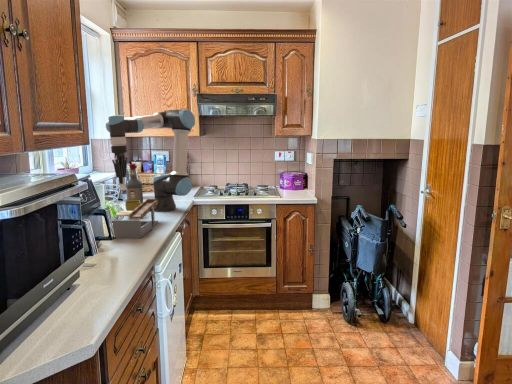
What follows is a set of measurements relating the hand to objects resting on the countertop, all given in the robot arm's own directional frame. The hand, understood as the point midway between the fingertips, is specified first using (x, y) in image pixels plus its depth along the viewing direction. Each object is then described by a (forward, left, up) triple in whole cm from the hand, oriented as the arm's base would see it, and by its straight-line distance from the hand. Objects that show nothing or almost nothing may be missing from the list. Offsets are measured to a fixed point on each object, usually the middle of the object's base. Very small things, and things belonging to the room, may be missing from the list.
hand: (122, 189), depth 193 cm
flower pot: (-22, -15, -21) cm, 34 cm away
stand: (-8, +6, -21) cm, 23 cm away
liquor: (-39, -29, -21) cm, 53 cm away
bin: (+8, +12, -21) cm, 26 cm away
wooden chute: (-7, +2, -15) cm, 17 cm away
